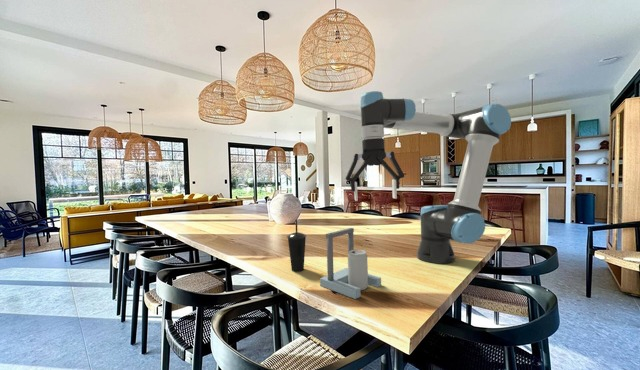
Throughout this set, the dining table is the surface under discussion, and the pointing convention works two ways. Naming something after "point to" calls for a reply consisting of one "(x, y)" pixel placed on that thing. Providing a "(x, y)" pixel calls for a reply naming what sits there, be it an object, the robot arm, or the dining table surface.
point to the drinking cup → (297, 250)
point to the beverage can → (358, 269)
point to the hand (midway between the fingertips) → (375, 199)
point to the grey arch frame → (341, 277)
